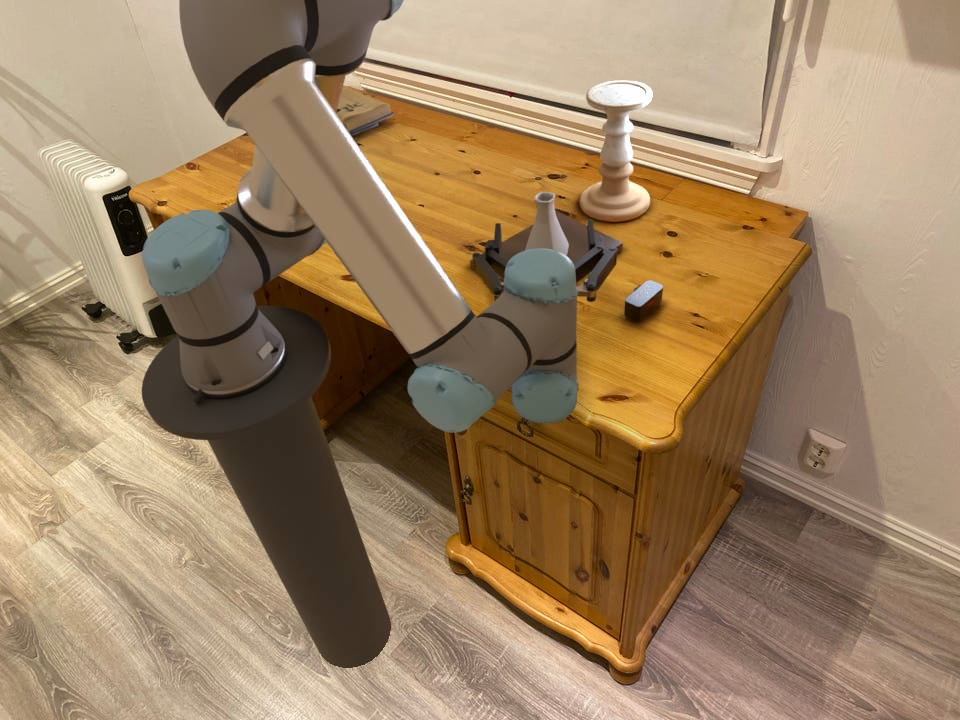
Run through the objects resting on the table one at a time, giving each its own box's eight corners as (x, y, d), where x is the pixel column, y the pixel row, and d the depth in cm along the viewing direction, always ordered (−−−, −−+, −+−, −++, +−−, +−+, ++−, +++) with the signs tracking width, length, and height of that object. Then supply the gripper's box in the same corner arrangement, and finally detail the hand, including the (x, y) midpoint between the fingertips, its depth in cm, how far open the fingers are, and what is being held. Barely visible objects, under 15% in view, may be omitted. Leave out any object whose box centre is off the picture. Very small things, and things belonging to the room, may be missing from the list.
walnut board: (534, 306, 108) (534, 298, 107) (470, 267, 116) (469, 260, 115) (622, 250, 116) (623, 242, 115) (556, 218, 125) (556, 210, 124)
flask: (557, 268, 112) (556, 212, 105) (516, 258, 115) (512, 203, 108) (576, 244, 116) (576, 189, 109) (536, 235, 119) (533, 181, 112)
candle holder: (626, 230, 120) (632, 115, 107) (565, 210, 127) (564, 99, 113) (662, 198, 127) (673, 85, 113) (604, 180, 133) (607, 72, 120)
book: (300, 165, 149) (292, 138, 145) (263, 142, 159) (255, 117, 155) (396, 124, 160) (392, 98, 156) (356, 105, 170) (351, 80, 166)
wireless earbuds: (666, 301, 106) (668, 283, 104) (638, 325, 102) (639, 307, 100) (639, 289, 108) (641, 272, 106) (611, 313, 105) (612, 295, 103)
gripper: (451, 344, 95) (463, 253, 110) (641, 339, 92) (627, 246, 108) (444, 299, 90) (458, 210, 105) (645, 293, 87) (630, 203, 103)
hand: (544, 228), depth 107 cm, fingers open, 13 cm apart
